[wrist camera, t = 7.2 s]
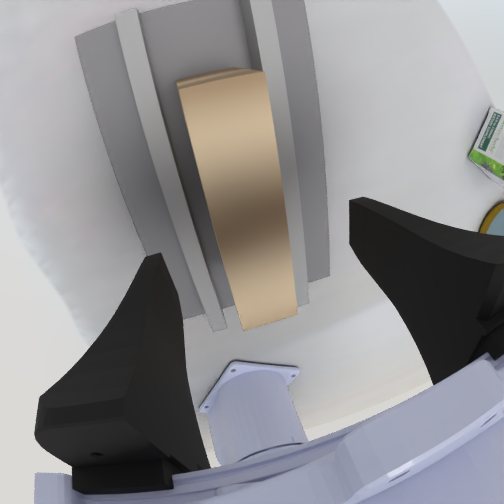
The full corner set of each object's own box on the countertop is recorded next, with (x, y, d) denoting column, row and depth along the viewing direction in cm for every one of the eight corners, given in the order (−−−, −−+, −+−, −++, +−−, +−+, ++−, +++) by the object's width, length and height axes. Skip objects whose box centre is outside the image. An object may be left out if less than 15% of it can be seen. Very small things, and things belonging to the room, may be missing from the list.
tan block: (267, 252, 22) (297, 314, 17) (223, 264, 22) (243, 331, 17) (232, 67, 15) (264, 71, 10) (175, 80, 14) (178, 89, 10)
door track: (324, 268, 25) (340, 292, 23) (176, 311, 24) (179, 341, 22) (295, -9, 14) (317, -18, 11) (79, 37, 12) (62, 34, 10)
